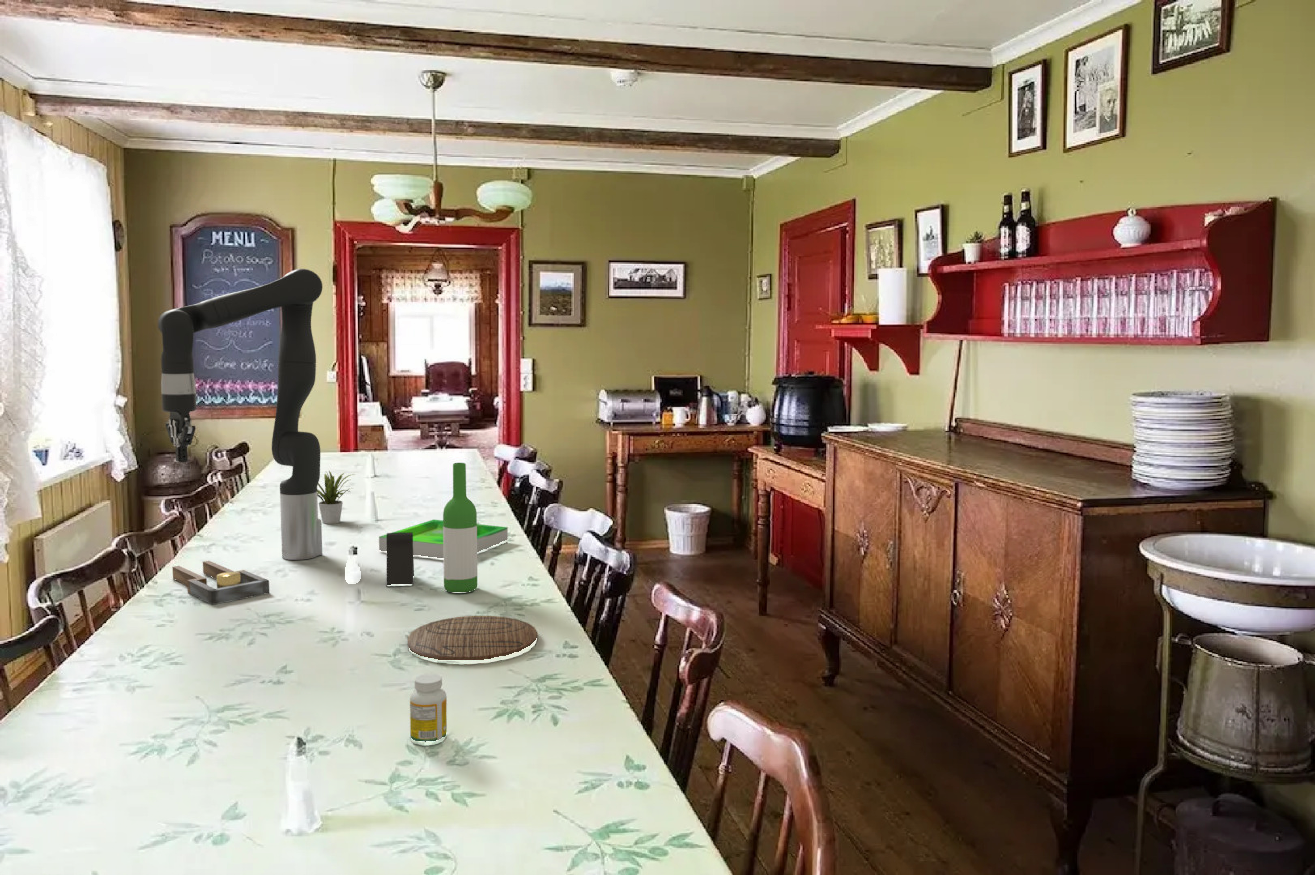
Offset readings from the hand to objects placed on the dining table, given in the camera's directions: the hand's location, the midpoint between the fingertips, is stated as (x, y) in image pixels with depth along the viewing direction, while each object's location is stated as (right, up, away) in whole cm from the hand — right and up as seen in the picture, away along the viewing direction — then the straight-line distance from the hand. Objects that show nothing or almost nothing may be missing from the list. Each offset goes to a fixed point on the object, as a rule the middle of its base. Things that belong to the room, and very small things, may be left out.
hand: (181, 461), depth 237 cm
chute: (+14, -29, -13) cm, 35 cm away
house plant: (+18, -20, +59) cm, 65 cm away
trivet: (+82, -35, -49) cm, 101 cm away
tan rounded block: (+20, -30, -18) cm, 40 cm away
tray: (+59, -25, +29) cm, 70 cm away
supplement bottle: (+83, -40, -92) cm, 131 cm away
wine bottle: (+72, -30, -13) cm, 79 cm away
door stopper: (+56, -29, -6) cm, 63 cm away
